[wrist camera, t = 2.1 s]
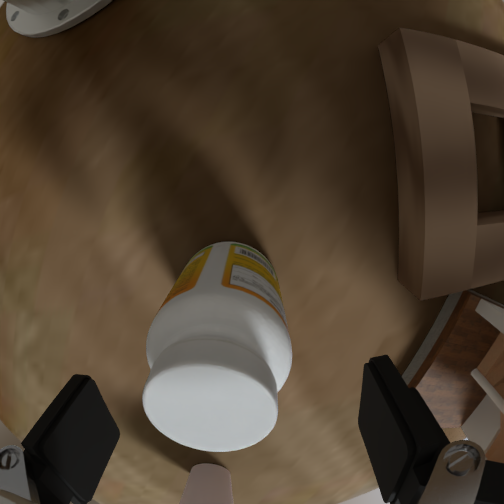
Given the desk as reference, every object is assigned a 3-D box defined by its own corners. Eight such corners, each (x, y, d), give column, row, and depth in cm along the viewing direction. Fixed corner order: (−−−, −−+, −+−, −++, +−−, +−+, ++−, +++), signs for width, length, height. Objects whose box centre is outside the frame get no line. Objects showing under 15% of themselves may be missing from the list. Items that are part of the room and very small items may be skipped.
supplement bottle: (191, 330, 18) (149, 460, 8) (175, 244, 16) (93, 340, 7) (280, 324, 18) (301, 460, 8) (274, 235, 16) (303, 332, 7)
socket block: (377, 45, 13) (399, 27, 10) (524, 79, 12) (549, 75, 10) (397, 280, 17) (420, 300, 14) (531, 252, 16) (555, 264, 13)
